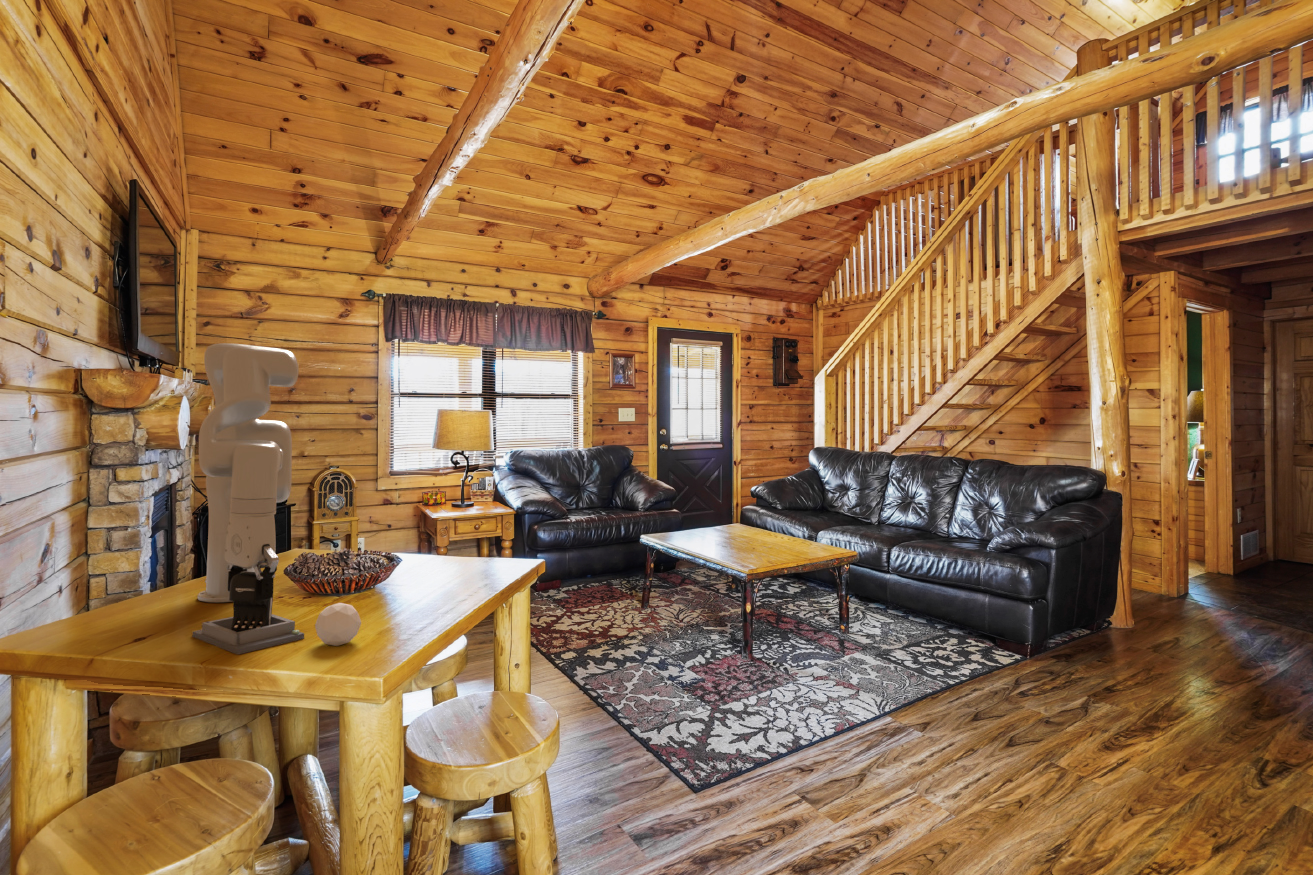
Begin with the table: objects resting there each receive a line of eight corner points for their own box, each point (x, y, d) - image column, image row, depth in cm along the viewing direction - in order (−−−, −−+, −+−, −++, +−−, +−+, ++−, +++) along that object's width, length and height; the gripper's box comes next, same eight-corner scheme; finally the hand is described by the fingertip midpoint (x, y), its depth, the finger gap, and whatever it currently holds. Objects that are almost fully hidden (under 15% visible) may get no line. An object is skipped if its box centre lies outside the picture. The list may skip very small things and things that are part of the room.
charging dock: (192, 636, 125) (193, 620, 125) (257, 622, 135) (258, 608, 135) (237, 654, 116) (238, 637, 116) (304, 638, 126) (304, 622, 126)
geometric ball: (341, 660, 122) (340, 634, 118) (306, 642, 124) (304, 615, 119) (370, 631, 128) (369, 605, 124) (336, 614, 130) (335, 588, 125)
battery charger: (224, 633, 123) (226, 573, 124) (237, 628, 127) (239, 569, 127) (261, 635, 124) (264, 575, 124) (273, 629, 127) (275, 571, 127)
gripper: (210, 503, 127) (206, 590, 127) (256, 513, 118) (252, 607, 118) (250, 500, 133) (247, 583, 134) (298, 509, 124) (294, 598, 124)
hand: (249, 594), depth 126 cm, fingers open, 9 cm apart
